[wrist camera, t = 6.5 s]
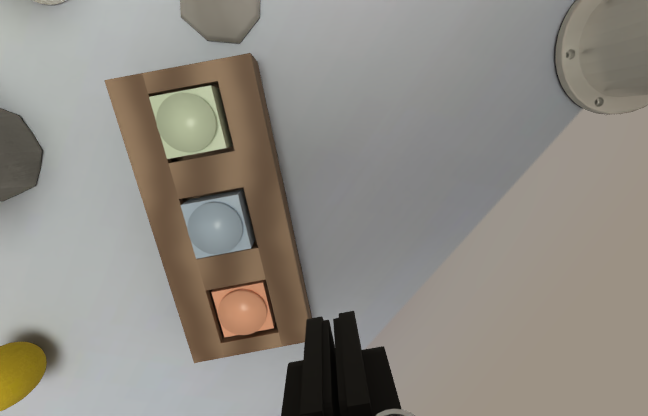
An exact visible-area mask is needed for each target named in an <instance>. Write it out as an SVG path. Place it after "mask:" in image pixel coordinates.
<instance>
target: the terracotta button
mask: <svg viewBox="0 0 648 416" xmlns="http://www.w3.org/2000/svg"><path fill="white" fill-rule="evenodd" d="M212 296H213V299H214V303H215V306H216V310H217V313H218V318H219V321H220V324H221V327H222V331H223V334H224V338H225V337H230V336H235V335H248V334H252V333H254V332H256V331H262V330H267V329H272V328H274V326H275V315H274V311H273V307H272V303H271V299H270V295H269V290H268V286H267V282H266V279H265V280H259V281H254V282H249V283H243V284H238V285H233V286H227V287H222V288H217V289H213V290H212Z"/></svg>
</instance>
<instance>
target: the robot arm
mask: <svg viewBox="0 0 648 416" xmlns="http://www.w3.org/2000/svg"><path fill="white" fill-rule="evenodd" d="M555 62H556V68H557V74H558V77H559V80H560V82H561V85H562V87H563V88H564V90H565V92H566V93H567V95H568V96H569V97H570V98H571V99H572V100H573V101H574V102H575V103H576V104H577V105H579V106H581V107H582V108H584V109H586V110H588V111H591V112H594V113H599V114H622V113H627V112H633V111H635V110H638V109H640V108H643V107H645V106H647V105H648V0H576V1H575V3H574V4H573V5H572V6H571V8H570V10H569V11H568V13H567V15H566V17H565V18H564V20H563V23H562V26H561V28H560V31H559V34H558V39H557V44H556V58H555ZM333 321H334V337H335V345H334V341H333V336H332V331H331V327H330V322H329V320H324V321H323V317H317V318H311V319H307V320H306V333H305V347H304V360H302V361H296V362H290V363H289V364H288V368H287V375H286V383H285V391H284V398H283V406H282V413H281V416H415V415H413V414H412V413H411V412H408V411H405V410H402V409H401V406H400V402H399V399H398V395H397V391H396V388H395V384H394V381H393V377H392V373H391V370H390V366H389V362H388V359H387V355H386V352H385V349H384V347H377V348H372V349H365V350H361V344H360V339H359V334H358V329H357V324H356V319H355V313H354V311H350V312H345V313H339V318H336V319H333Z"/></svg>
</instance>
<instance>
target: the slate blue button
mask: <svg viewBox="0 0 648 416" xmlns="http://www.w3.org/2000/svg"><path fill="white" fill-rule="evenodd" d="M181 209H182V212H183V216H184V219H185V222H186V226H187V229H188V234H189V237H190V240H191V243H192V246H193V250H194V253H195V257H196V259H198V258H203V257H209V256H214V255H219V254H225V253H230V252H235V251H240V250H246V249H251V248H252V246H253V243H254V241H255V236H254V232H253V228H252V224H251V219H250V215H249V211H248V207H247V203H246V199H245V195H244V191H243V189H241V190H236V191H231V192H225V193H220V194H215V195H209V196H204V197H199V198H193V199H190V200H188V201H186V202H185V203H183V204H182V205H181Z"/></svg>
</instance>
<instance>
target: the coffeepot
mask: <svg viewBox="0 0 648 416" xmlns="http://www.w3.org/2000/svg"><path fill="white" fill-rule="evenodd" d="M41 154H42V150H41V148H40V146H39V144H38V142H37V140H36V138H35V136H34V134H33V133H32V131H31V130H30V129H29V128H28V126H27V125H26V124H25V123H24V122H23V121H22V120H21V118H20V117H19V115H16V114H13V113H10V112H8V111H6V110H4V109H1V108H0V201H5V200H7V199H9V198H11V197H13V196H16V195H18V194H20V193H22V192H24V191H26V190H28V189H30V188H32V187H34V186H35V185H36V182H37V179H38V176H39V173H40V170H41V162H42V159H41Z"/></svg>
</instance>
